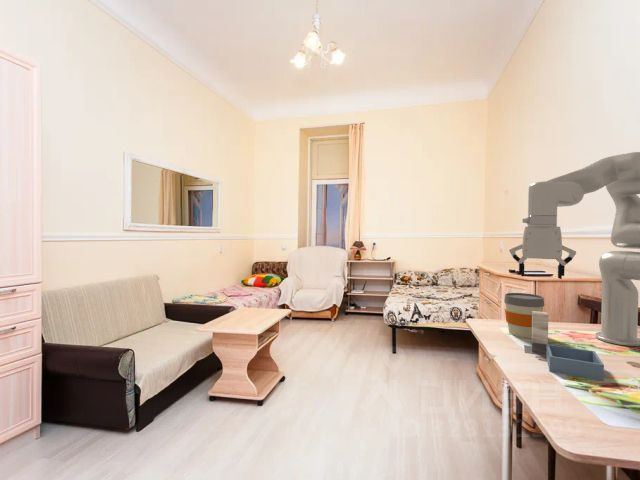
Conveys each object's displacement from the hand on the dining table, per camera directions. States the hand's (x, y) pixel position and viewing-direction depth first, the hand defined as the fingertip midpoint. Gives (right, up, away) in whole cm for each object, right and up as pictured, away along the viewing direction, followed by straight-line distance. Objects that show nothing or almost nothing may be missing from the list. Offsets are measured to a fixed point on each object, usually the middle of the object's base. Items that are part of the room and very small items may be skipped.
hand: (540, 277), depth 103 cm
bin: (+1, -25, -12) cm, 28 cm away
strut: (0, -23, +1) cm, 23 cm away
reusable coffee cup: (+6, -24, +18) cm, 31 cm away
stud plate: (0, -24, +1) cm, 24 cm away
